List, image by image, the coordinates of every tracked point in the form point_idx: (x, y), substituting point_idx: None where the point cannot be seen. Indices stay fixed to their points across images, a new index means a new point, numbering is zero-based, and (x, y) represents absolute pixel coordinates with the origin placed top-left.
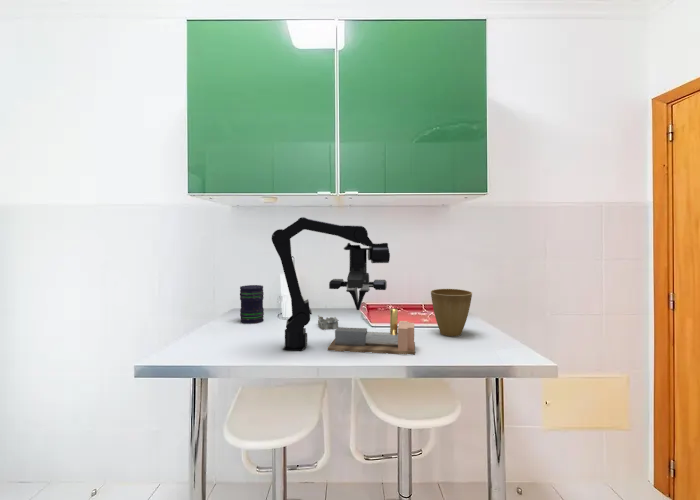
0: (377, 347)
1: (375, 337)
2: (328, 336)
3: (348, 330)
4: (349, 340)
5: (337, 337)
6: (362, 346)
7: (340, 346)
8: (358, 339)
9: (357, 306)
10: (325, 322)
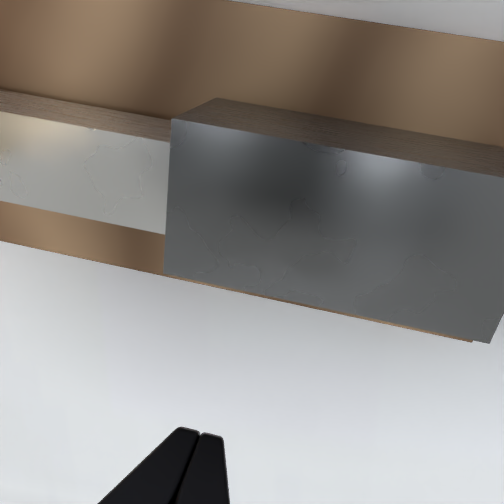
0: (112, 67)
1: (95, 120)
2: (494, 448)
3: (376, 192)
4: (362, 131)
5: (500, 159)
6: (241, 98)
7: (451, 101)
8: (268, 117)
9: (187, 487)
10: None
